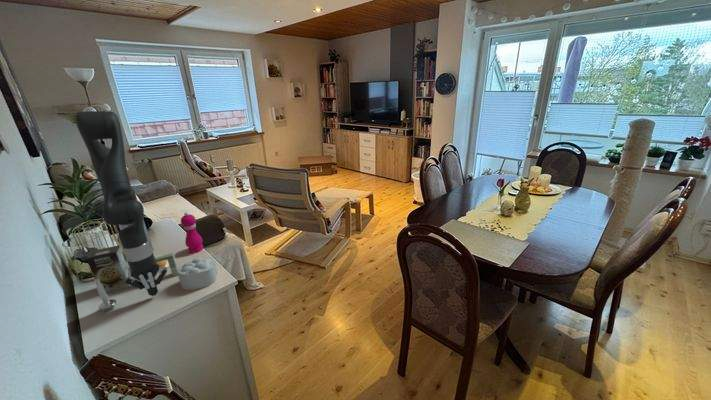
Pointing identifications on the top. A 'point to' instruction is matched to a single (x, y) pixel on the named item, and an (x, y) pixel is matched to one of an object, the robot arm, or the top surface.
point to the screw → (104, 297)
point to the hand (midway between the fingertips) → (154, 294)
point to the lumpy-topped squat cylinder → (197, 273)
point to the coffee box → (109, 267)
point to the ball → (161, 263)
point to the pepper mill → (191, 233)
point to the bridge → (161, 258)
